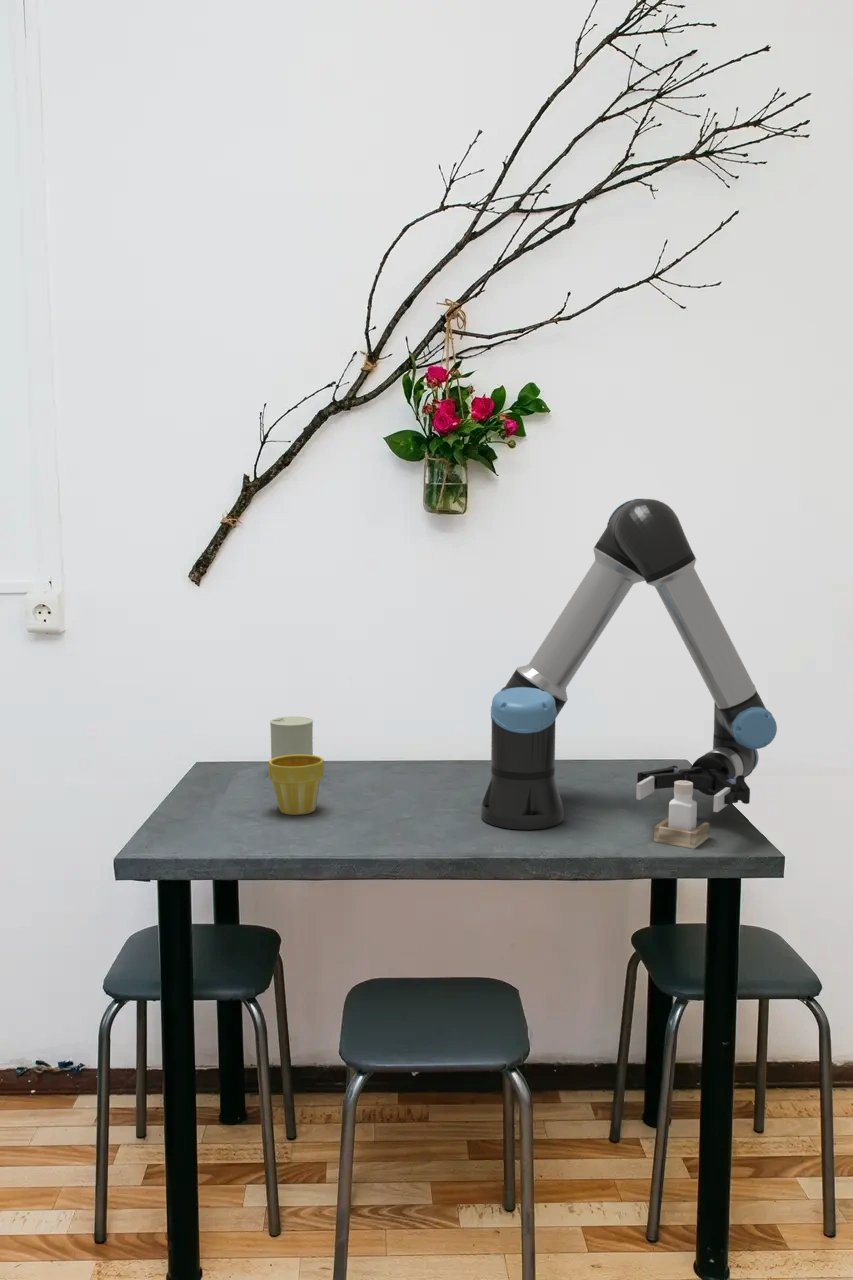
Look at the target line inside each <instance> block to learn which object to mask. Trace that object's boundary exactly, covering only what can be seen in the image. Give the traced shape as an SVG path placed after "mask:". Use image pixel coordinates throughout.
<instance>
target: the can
mask: <svg viewBox="0 0 853 1280" xmlns="http://www.w3.org/2000/svg"><path fill="white" fill-rule="evenodd" d="M269 723H270V725H269V726H270V755H271V758H270V760H271V759H273V758H276V757H279V756H285V755H298V754H302V755H314V754H313V749H314V748H313V746H314V745H313V742H314V741H313V739H314V736H313V724H314V720H313V719H312V718H309V717H306V716H305V717H304V716H282V717H277V718H273V719H271V720H270V721H269Z"/></svg>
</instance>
